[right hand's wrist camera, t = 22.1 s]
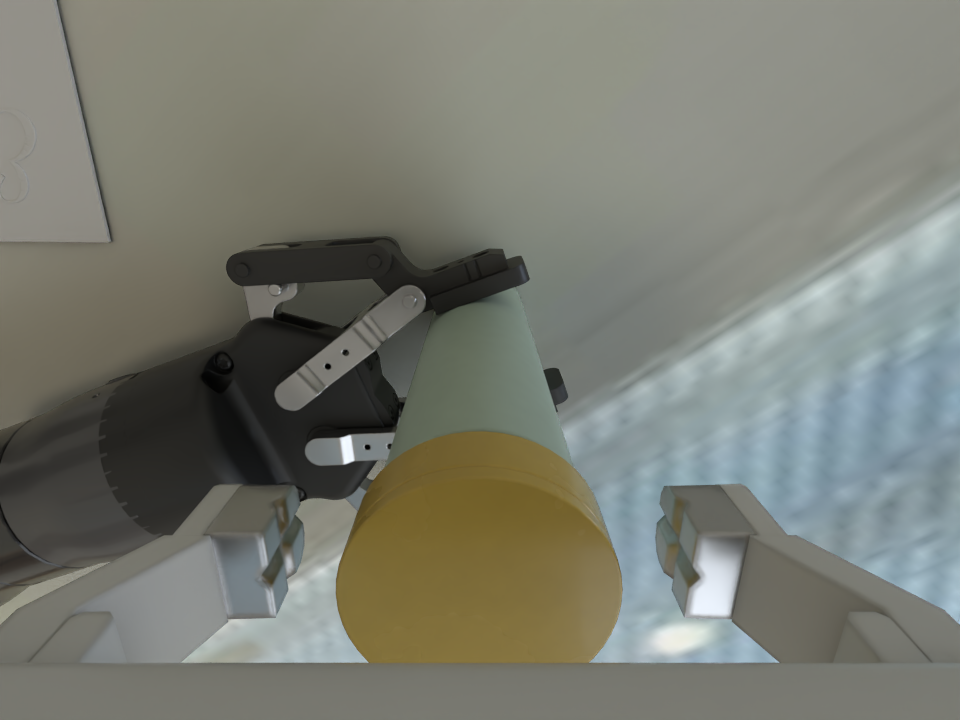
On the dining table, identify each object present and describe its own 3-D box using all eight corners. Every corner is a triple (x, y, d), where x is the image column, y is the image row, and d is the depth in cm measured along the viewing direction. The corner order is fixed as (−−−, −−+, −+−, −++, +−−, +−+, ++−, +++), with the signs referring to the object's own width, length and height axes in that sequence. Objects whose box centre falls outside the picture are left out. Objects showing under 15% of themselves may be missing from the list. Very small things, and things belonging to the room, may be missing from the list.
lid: (321, 586, 11) (296, 653, 9) (412, 389, 9) (400, 431, 8) (532, 662, 11) (540, 735, 10) (649, 489, 10) (678, 544, 9)
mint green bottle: (519, 353, 28) (587, 661, 10) (436, 350, 28) (363, 656, 10) (524, 269, 26) (613, 467, 9) (436, 267, 26) (352, 460, 9)
